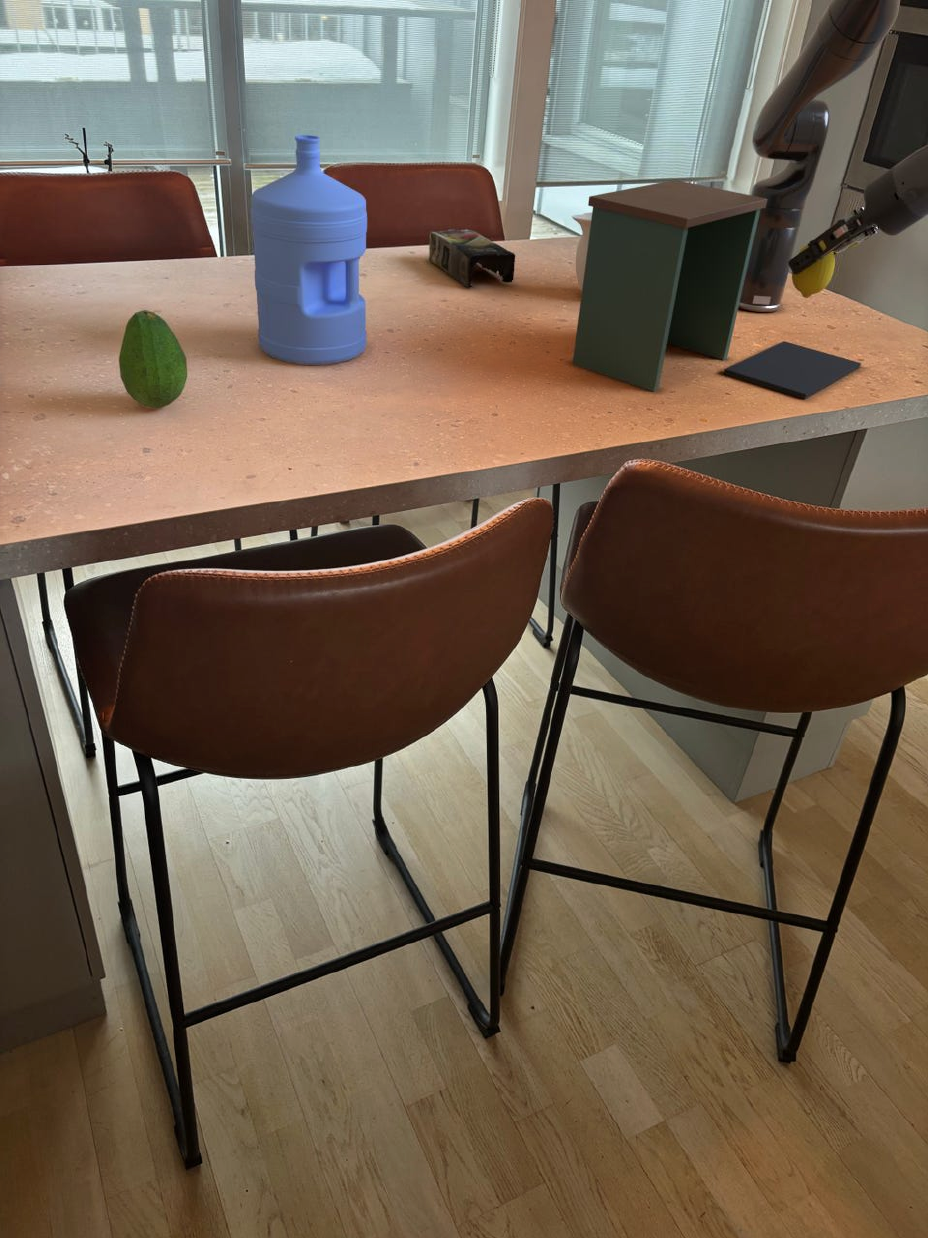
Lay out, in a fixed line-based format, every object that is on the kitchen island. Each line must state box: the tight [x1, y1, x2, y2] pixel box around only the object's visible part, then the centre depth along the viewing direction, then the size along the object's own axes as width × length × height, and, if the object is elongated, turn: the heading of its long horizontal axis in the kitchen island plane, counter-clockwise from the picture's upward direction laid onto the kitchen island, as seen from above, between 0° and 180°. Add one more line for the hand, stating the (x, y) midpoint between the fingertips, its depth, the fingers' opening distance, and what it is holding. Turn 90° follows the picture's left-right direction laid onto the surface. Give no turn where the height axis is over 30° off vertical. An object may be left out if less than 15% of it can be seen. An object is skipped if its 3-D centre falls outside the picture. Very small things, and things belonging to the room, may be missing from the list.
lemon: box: [791, 242, 836, 299], centre depth 134 cm, size 6×6×8 cm
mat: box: [723, 340, 862, 400], centre depth 144 cm, size 20×13×1 cm, turn 139°
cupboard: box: [572, 179, 767, 393], centre depth 138 cm, size 22×15×23 cm
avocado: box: [118, 309, 188, 409], centre depth 116 cm, size 8×8×12 cm
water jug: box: [250, 134, 368, 366], centre depth 132 cm, size 16×16×28 cm
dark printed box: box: [428, 228, 516, 289], centre depth 177 cm, size 20×10×6 cm, turn 24°
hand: (801, 264), depth 135 cm, fingers closed on lemon, 5 cm apart
